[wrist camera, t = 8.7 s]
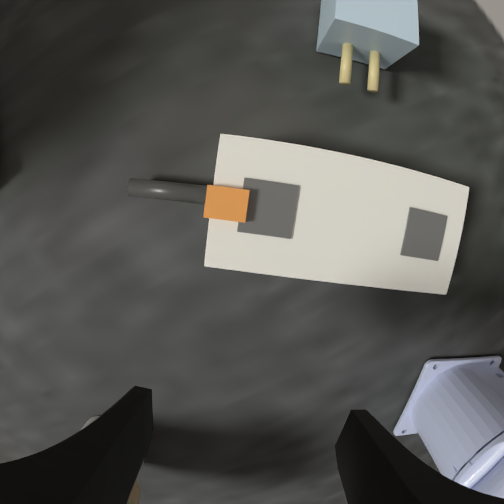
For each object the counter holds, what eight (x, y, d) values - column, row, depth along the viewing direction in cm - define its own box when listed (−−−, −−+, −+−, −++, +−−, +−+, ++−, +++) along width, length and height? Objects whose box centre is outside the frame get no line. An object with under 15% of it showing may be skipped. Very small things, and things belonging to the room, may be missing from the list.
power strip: (413, 272, 19) (450, 297, 15) (133, 235, 18) (101, 254, 14) (431, 183, 18) (474, 187, 13) (143, 136, 17) (111, 125, 13)
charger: (382, 104, 16) (418, 86, 12) (312, 86, 16) (331, 60, 12) (385, -12, 14) (412, -45, 10) (323, -30, 14) (339, -69, 10)
